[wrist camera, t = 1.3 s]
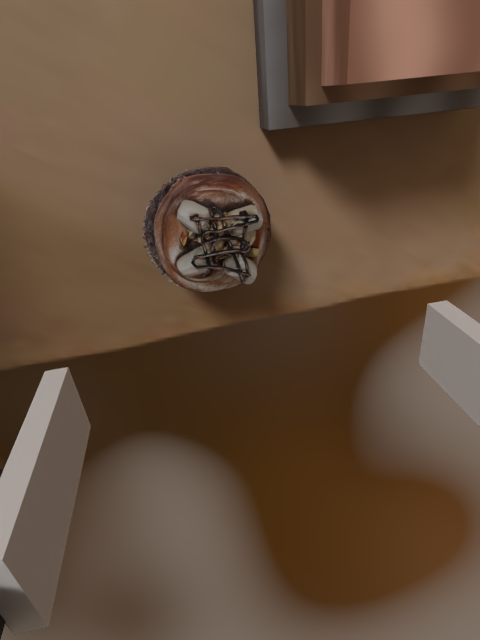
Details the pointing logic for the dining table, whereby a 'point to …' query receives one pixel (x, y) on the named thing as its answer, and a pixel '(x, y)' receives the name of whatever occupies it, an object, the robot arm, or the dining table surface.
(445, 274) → the dining table surface
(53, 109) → the dining table surface
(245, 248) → the cupcake
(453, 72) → the stepped pyramid block
